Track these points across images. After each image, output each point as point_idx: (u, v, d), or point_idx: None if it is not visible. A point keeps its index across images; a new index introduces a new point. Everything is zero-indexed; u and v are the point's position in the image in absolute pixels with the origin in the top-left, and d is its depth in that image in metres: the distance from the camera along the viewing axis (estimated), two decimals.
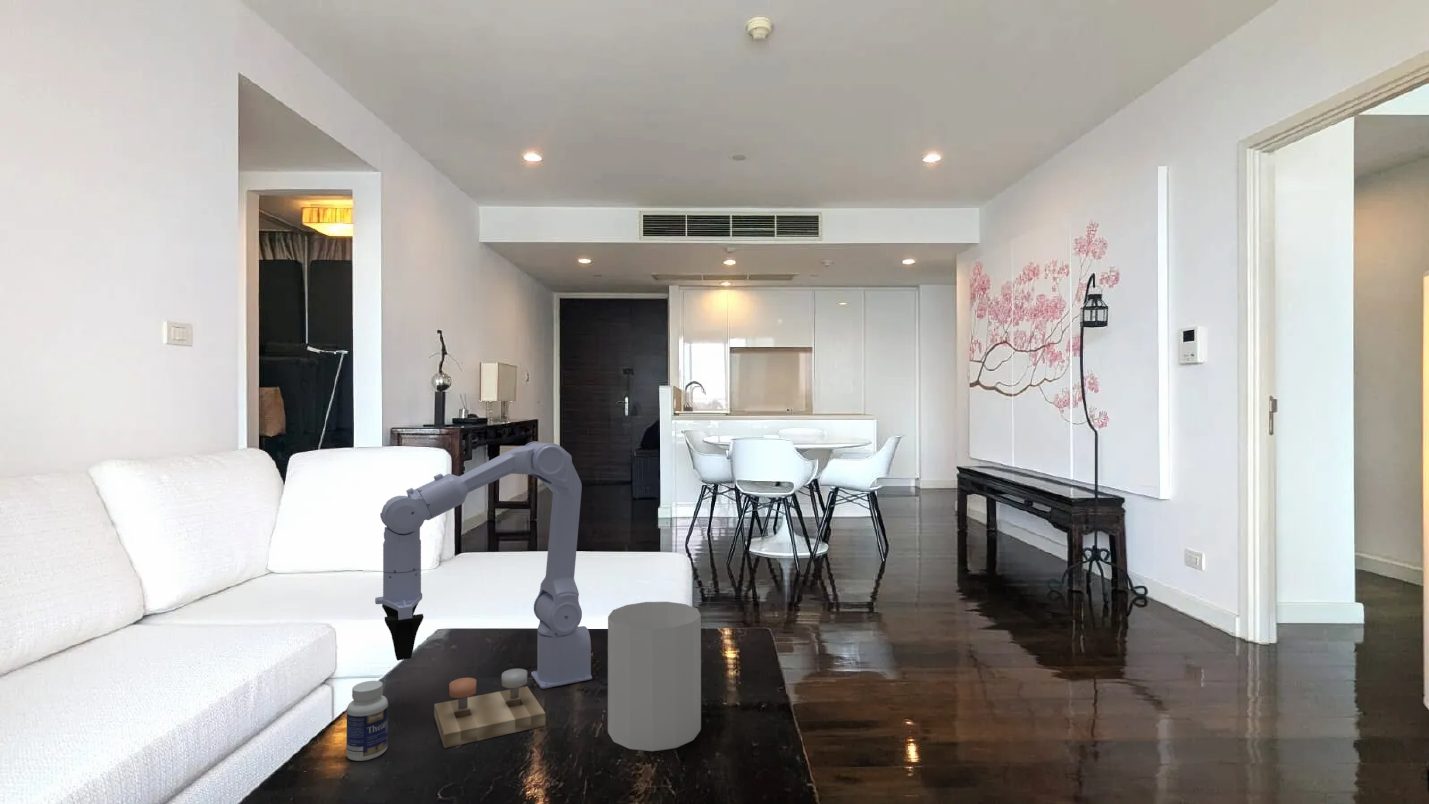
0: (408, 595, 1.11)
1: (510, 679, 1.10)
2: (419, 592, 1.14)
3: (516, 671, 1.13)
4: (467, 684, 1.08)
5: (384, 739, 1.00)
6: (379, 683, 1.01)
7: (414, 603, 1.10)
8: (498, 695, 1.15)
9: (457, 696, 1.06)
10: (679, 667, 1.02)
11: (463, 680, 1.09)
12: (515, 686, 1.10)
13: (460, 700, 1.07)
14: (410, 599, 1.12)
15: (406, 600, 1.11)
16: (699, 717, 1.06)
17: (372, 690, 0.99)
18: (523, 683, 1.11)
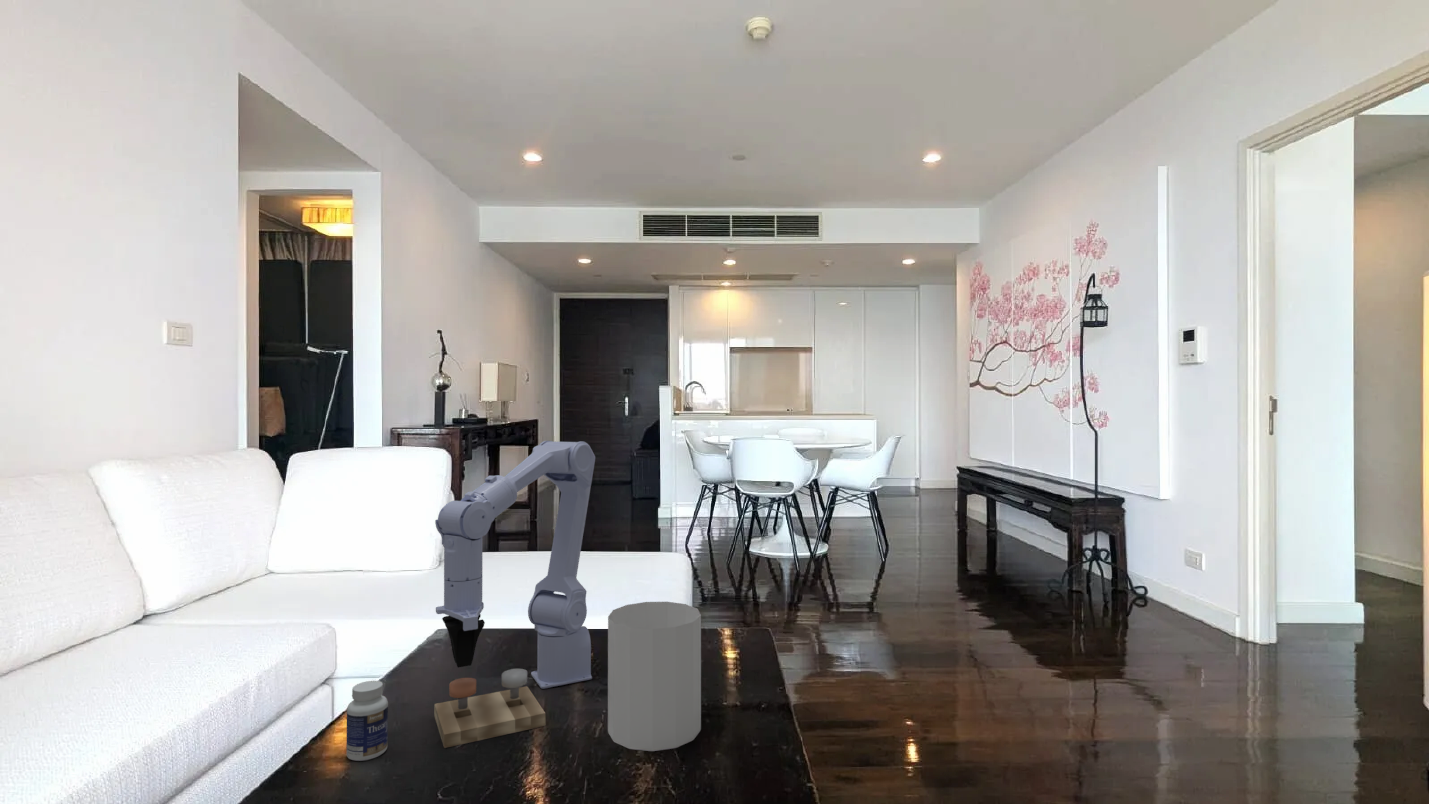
0: (470, 604, 1.06)
1: (510, 679, 1.10)
2: (481, 601, 1.08)
3: (516, 671, 1.13)
4: (467, 684, 1.08)
5: (384, 739, 1.00)
6: (379, 683, 1.01)
7: (478, 613, 1.05)
8: (498, 695, 1.15)
9: (457, 696, 1.06)
10: (679, 667, 1.02)
11: (463, 680, 1.09)
12: (515, 686, 1.10)
13: (460, 700, 1.07)
14: (473, 609, 1.06)
15: (469, 610, 1.06)
16: (699, 717, 1.06)
17: (372, 690, 0.99)
18: (523, 683, 1.11)
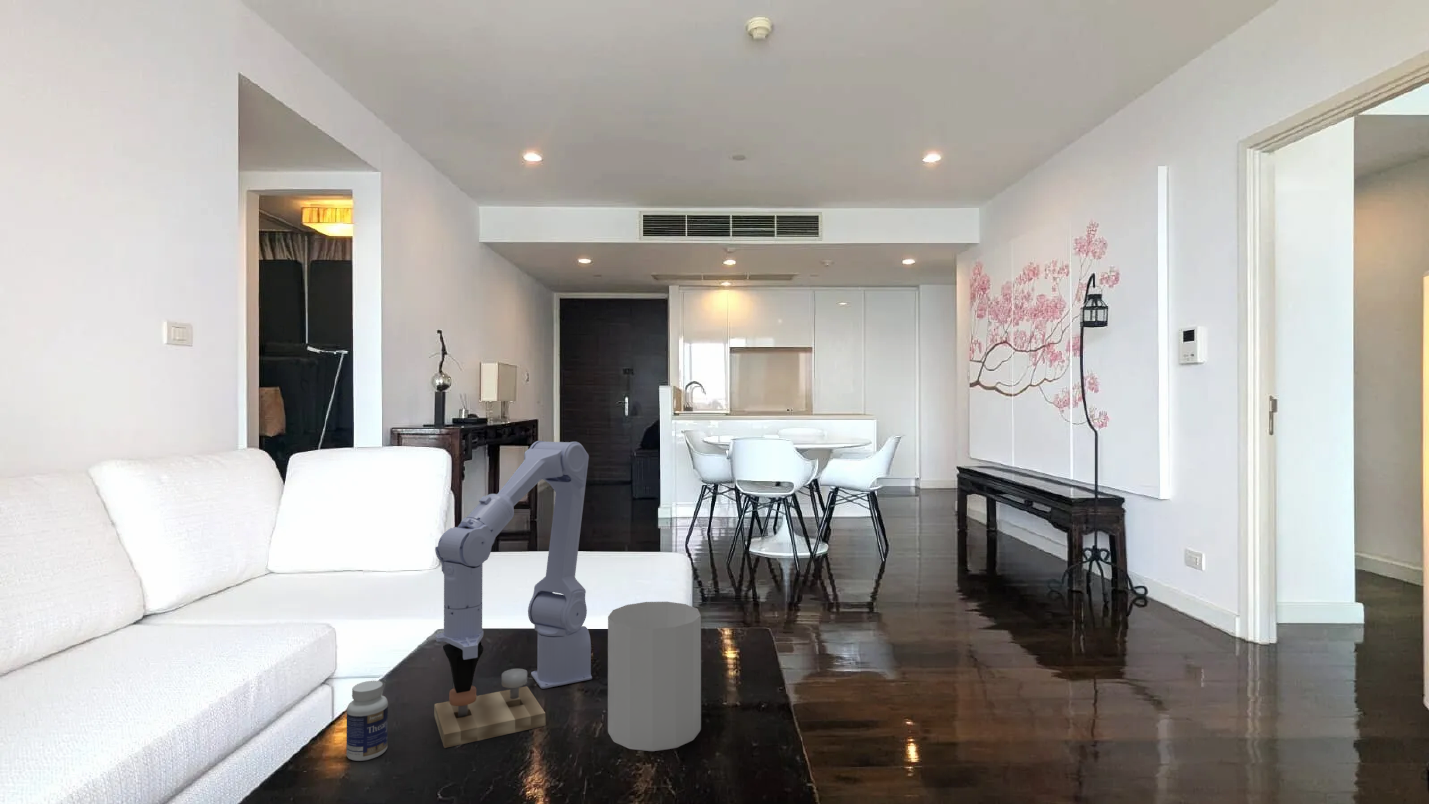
0: (470, 632, 1.06)
1: (510, 679, 1.10)
2: (481, 628, 1.08)
3: (516, 671, 1.13)
4: (467, 691, 1.08)
5: (384, 739, 1.00)
6: (379, 683, 1.01)
7: (478, 641, 1.05)
8: (498, 695, 1.15)
9: (457, 704, 1.06)
10: (679, 667, 1.02)
11: None
12: (515, 686, 1.10)
13: (460, 708, 1.07)
14: (473, 636, 1.06)
15: (469, 637, 1.06)
16: (699, 717, 1.06)
17: (372, 690, 0.99)
18: (523, 683, 1.11)
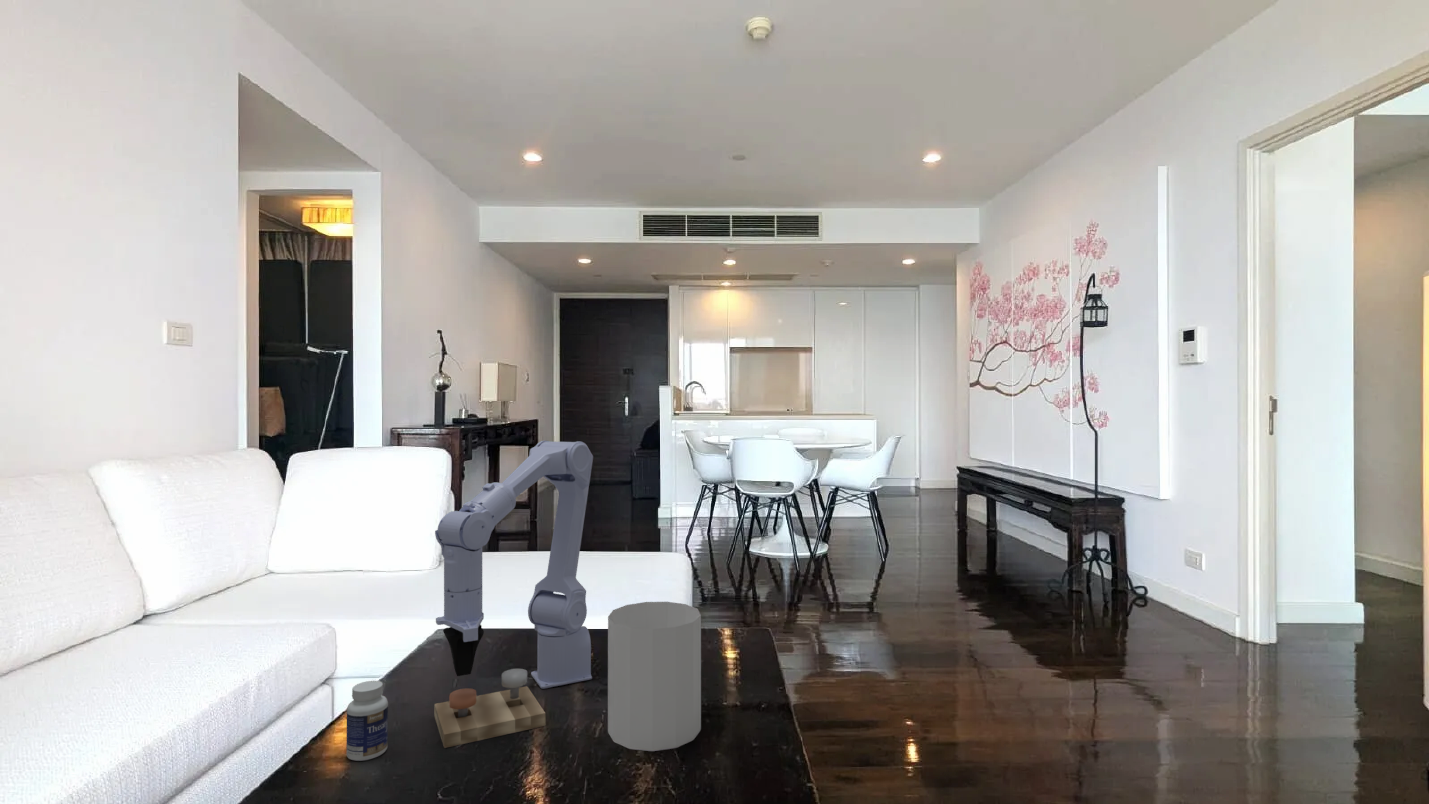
0: (470, 615, 1.06)
1: (510, 679, 1.10)
2: (481, 611, 1.08)
3: (516, 671, 1.13)
4: (467, 695, 1.08)
5: (384, 739, 1.00)
6: (379, 683, 1.01)
7: (478, 624, 1.05)
8: (498, 695, 1.15)
9: (457, 707, 1.06)
10: (679, 667, 1.02)
11: (463, 691, 1.09)
12: (515, 686, 1.10)
13: (460, 711, 1.07)
14: (473, 619, 1.06)
15: (469, 620, 1.06)
16: (699, 717, 1.06)
17: (372, 690, 0.99)
18: (523, 683, 1.11)
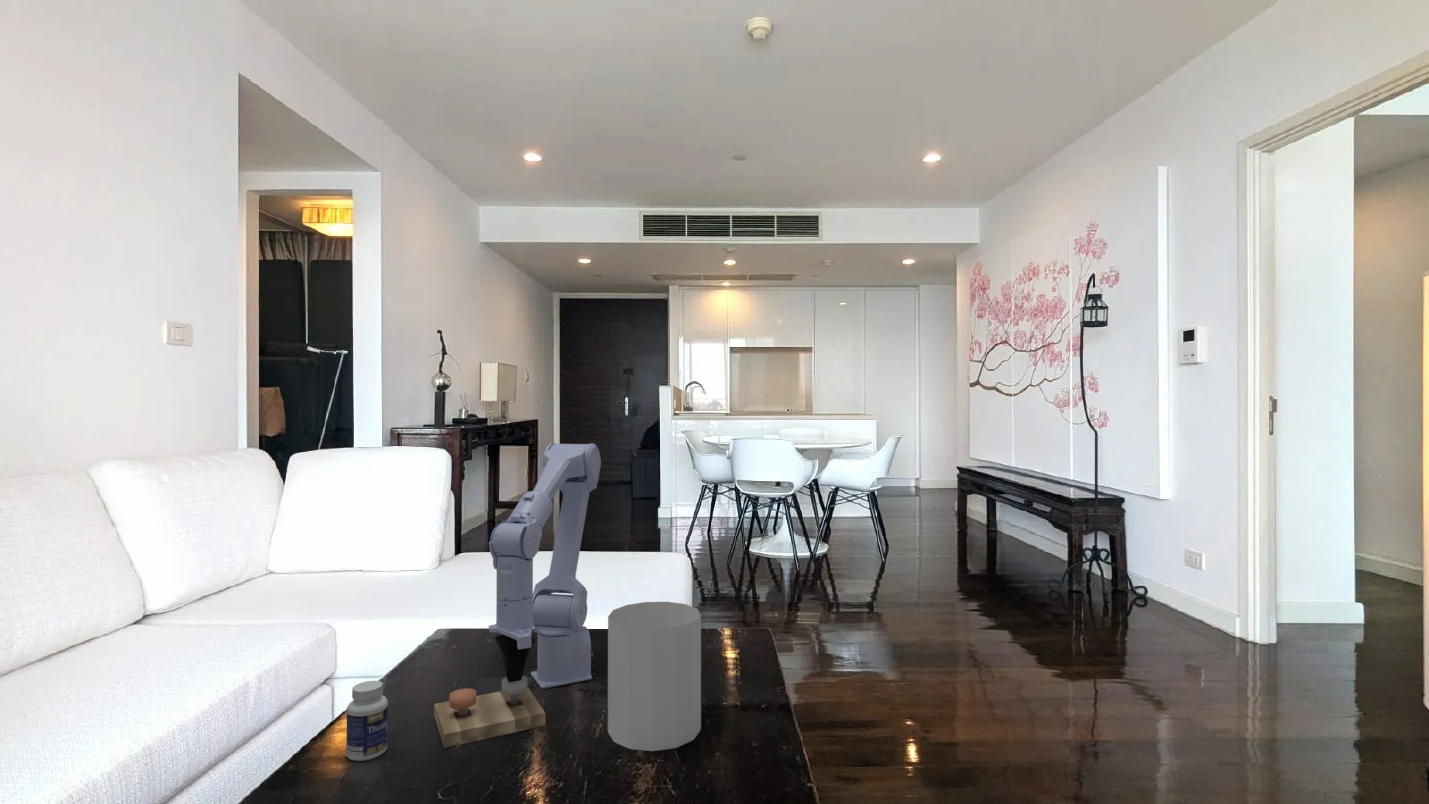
0: (522, 623, 1.10)
1: (510, 686, 1.10)
2: (532, 620, 1.12)
3: None
4: (467, 695, 1.08)
5: (384, 739, 1.00)
6: (379, 683, 1.01)
7: (530, 632, 1.09)
8: (498, 695, 1.15)
9: (457, 707, 1.06)
10: (679, 667, 1.02)
11: (463, 691, 1.09)
12: (515, 693, 1.10)
13: (460, 711, 1.07)
14: (525, 627, 1.10)
15: (521, 628, 1.10)
16: (699, 717, 1.06)
17: (372, 690, 0.99)
18: (523, 690, 1.11)
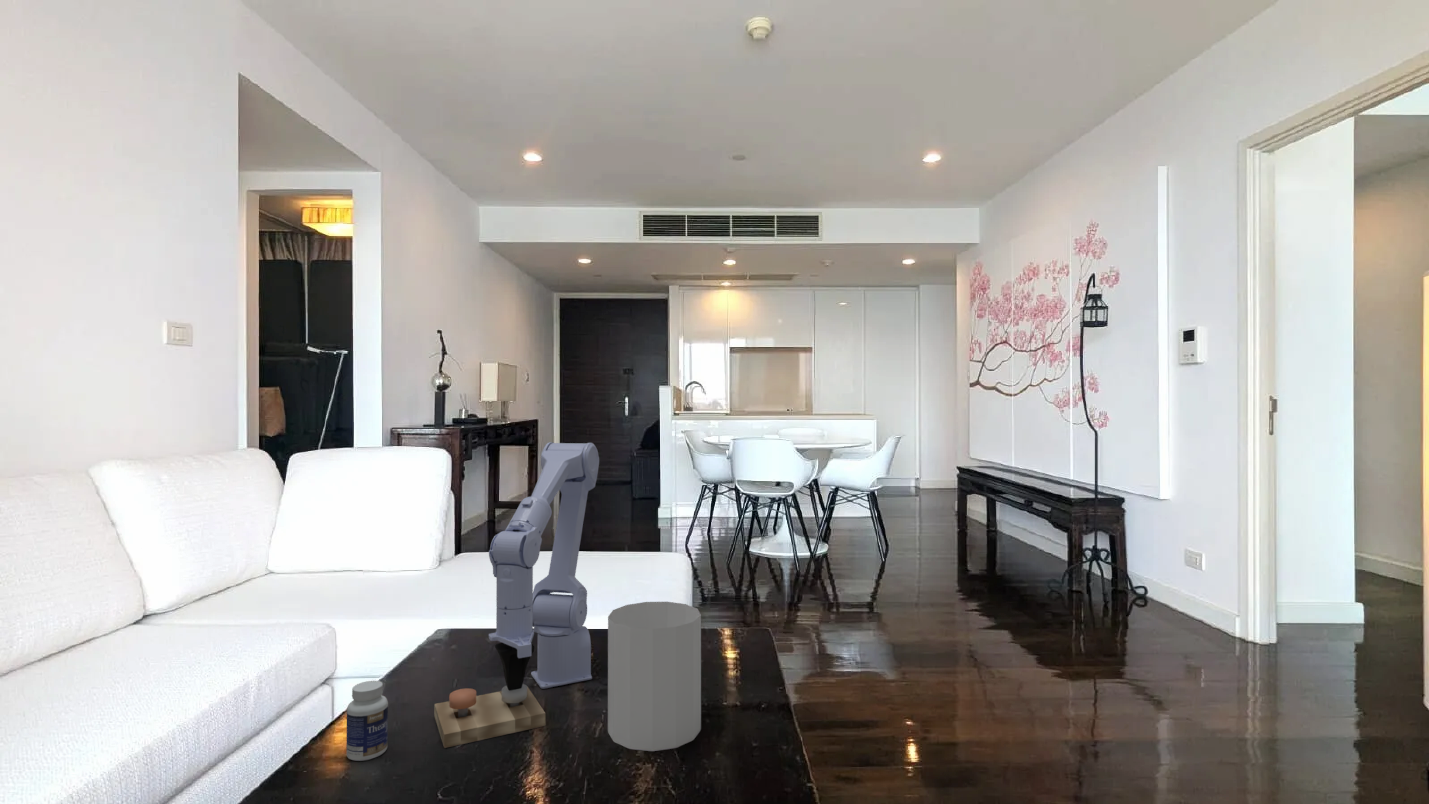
0: (522, 632, 1.10)
1: (509, 694, 1.10)
2: (532, 628, 1.12)
3: None
4: (467, 695, 1.08)
5: (384, 739, 1.00)
6: (379, 683, 1.01)
7: (530, 640, 1.09)
8: (498, 695, 1.15)
9: (457, 707, 1.06)
10: (679, 666, 1.02)
11: (463, 691, 1.09)
12: (515, 701, 1.10)
13: (460, 711, 1.07)
14: (525, 635, 1.10)
15: (521, 637, 1.10)
16: (699, 717, 1.06)
17: (372, 690, 0.99)
18: (523, 698, 1.11)
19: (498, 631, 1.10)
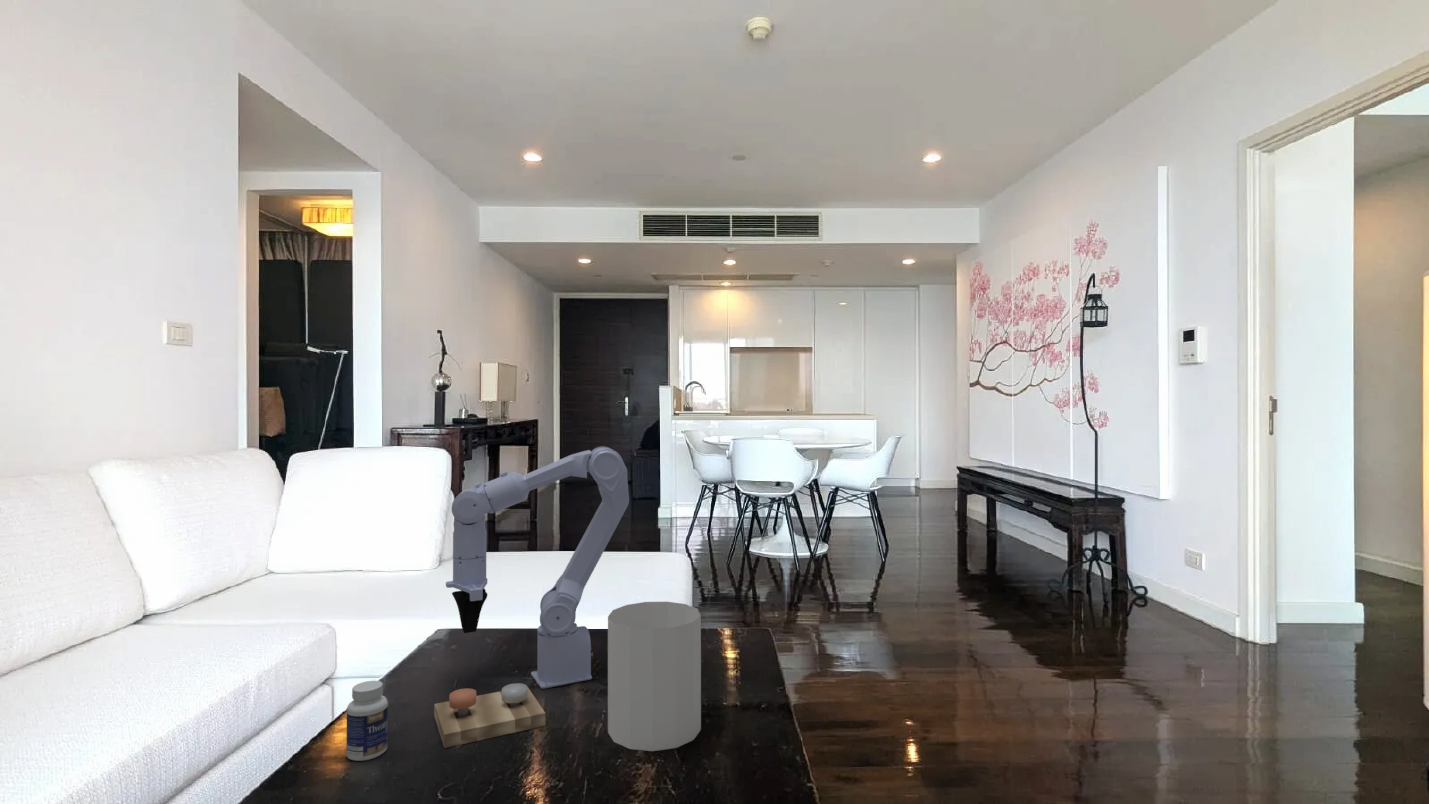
0: (476, 579, 1.22)
1: (509, 694, 1.10)
2: (485, 577, 1.24)
3: (516, 686, 1.13)
4: (467, 695, 1.08)
5: (384, 740, 1.00)
6: (379, 683, 1.01)
7: (483, 586, 1.20)
8: (498, 695, 1.15)
9: (457, 707, 1.06)
10: (679, 667, 1.02)
11: (463, 691, 1.09)
12: (515, 701, 1.10)
13: (460, 711, 1.07)
14: (478, 583, 1.22)
15: (475, 584, 1.22)
16: (699, 717, 1.06)
17: (372, 690, 0.99)
18: (523, 698, 1.11)
19: (454, 579, 1.22)
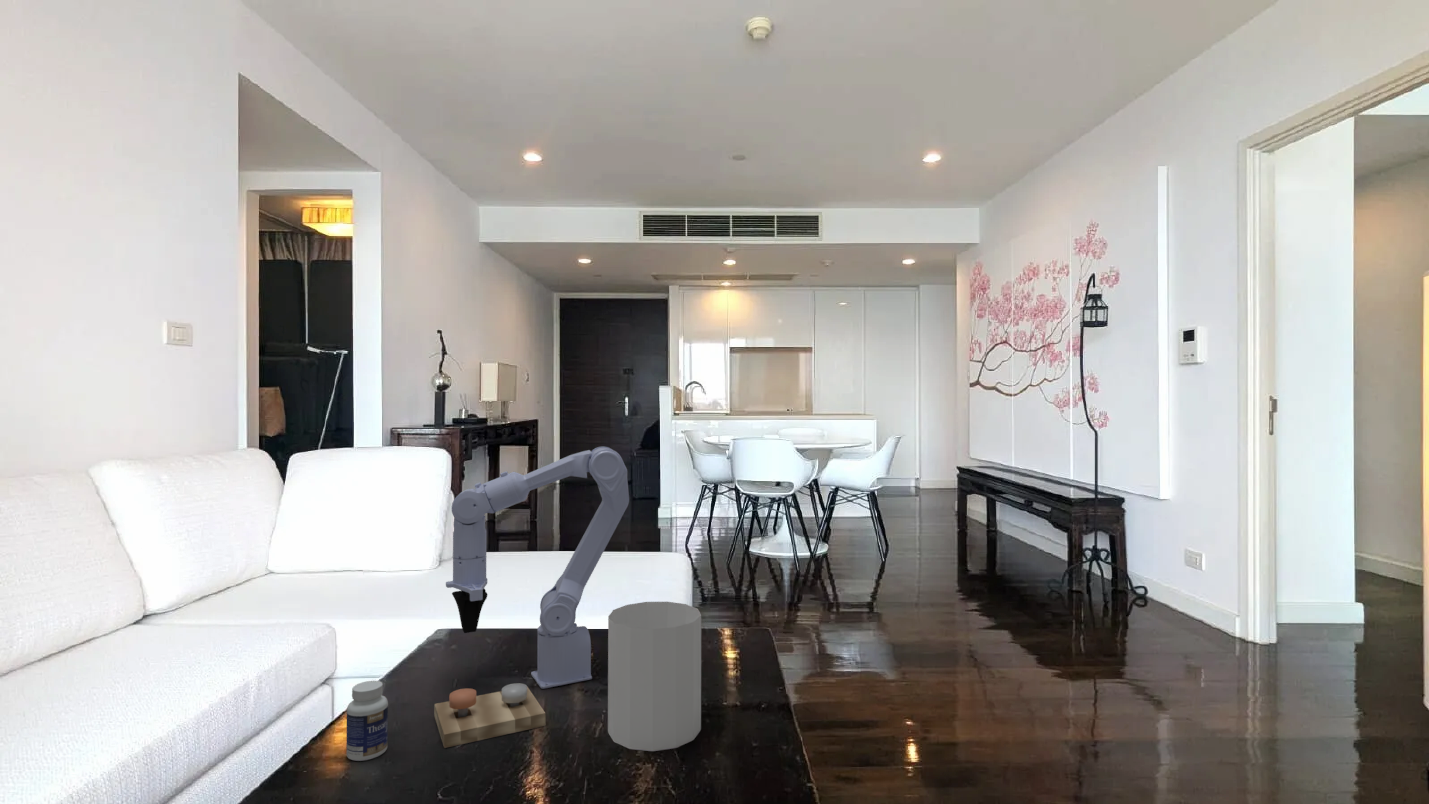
0: (476, 579, 1.22)
1: (509, 694, 1.10)
2: (485, 577, 1.24)
3: (516, 686, 1.13)
4: (467, 695, 1.08)
5: (384, 739, 1.00)
6: (379, 683, 1.01)
7: (483, 586, 1.20)
8: (498, 695, 1.15)
9: (457, 707, 1.06)
10: (679, 667, 1.02)
11: (463, 691, 1.09)
12: (515, 701, 1.10)
13: (460, 711, 1.07)
14: (478, 583, 1.22)
15: (475, 584, 1.22)
16: (699, 717, 1.06)
17: (372, 690, 0.99)
18: (523, 698, 1.11)
19: (454, 579, 1.22)
